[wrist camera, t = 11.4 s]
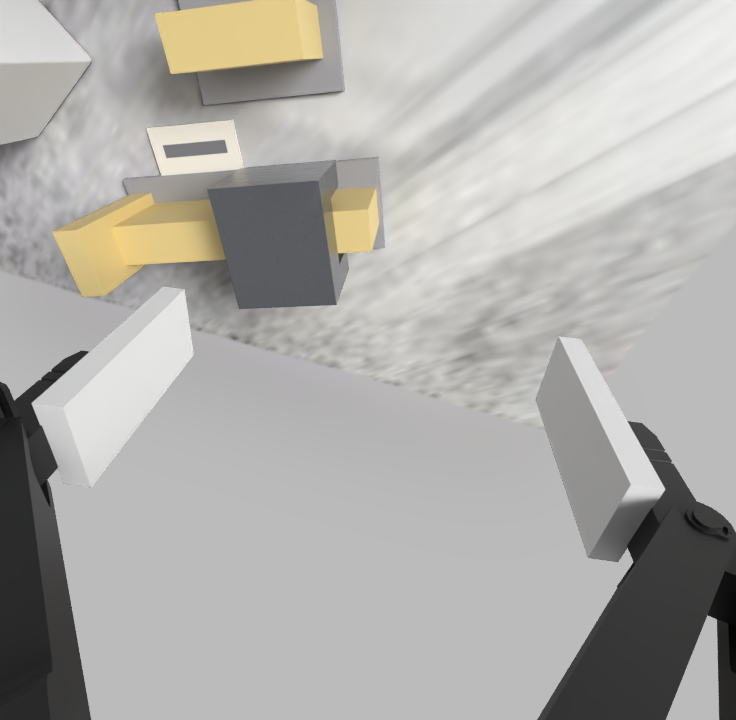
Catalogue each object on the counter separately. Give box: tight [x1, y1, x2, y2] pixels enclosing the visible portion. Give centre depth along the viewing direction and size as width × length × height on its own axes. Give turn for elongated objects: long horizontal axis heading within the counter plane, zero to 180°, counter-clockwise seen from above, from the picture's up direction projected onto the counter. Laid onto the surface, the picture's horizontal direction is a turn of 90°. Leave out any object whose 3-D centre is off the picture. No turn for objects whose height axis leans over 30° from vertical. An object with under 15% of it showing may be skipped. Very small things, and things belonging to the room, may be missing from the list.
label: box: [146, 120, 244, 176], centre depth 31 cm, size 3×6×1 cm, turn 95°
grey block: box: [207, 160, 349, 309], centre depth 28 cm, size 7×6×6 cm
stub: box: [155, 0, 345, 105], centre depth 25 cm, size 6×9×6 cm, turn 95°
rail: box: [52, 157, 385, 297], centre depth 30 cm, size 6×18×9 cm, turn 95°
